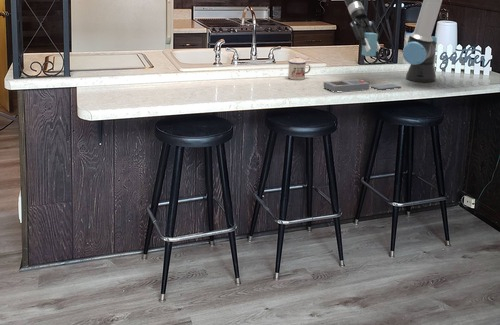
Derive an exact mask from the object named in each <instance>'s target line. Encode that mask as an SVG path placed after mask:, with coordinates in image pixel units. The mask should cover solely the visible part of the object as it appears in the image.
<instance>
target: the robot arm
mask: <svg viewBox="0 0 500 325" xmlns="http://www.w3.org/2000/svg"><path fill="white" fill-rule="evenodd" d="M343 1H344V3H345V5H346V7H347V10H348V13H349V15H350V18H351V19H352V21H351V22H350V24H349V26H350V27H351V29H352V31H353V33H354V34H353V35H354V36H355V39H356V40H357V41H359V42H360V43H361V44H362V45H363V46H364V47H365V49H366V51H367V52H368V51H369V50H370V46H369V44H368V41H367V39H366V38H365V39H364V33H365V31H366V33H376V34H378V37H377V47H376V52H378V51H379V50H380V49H381V46H380V42H379V40H378V39H379V37H380V33H379V31H378V29H377V27H376V25H375V21H374V20H371V21H370V20H369V18H368V14H367V13H366V10H365V6H364V5H363V3H362V0H343ZM442 3H443V0H423V1H422V4H421V8H420V11H419V15H418V18H417V21H416V24H415V27H414V31H413V32H412V33H410V34H409V37H408V40H407V43H406V44H405V45H404V47H403V50H402V57H403V59H404V60H405V62H407V64H409V67H408V71H407V73H406V74H405V79H406V80H408V81H411V82H416V83H417V82H418V83H432V82H436V77H437V76H436V71H435V66H434V64H435V57H436V51H437V50H436V49H437V44H438V43H437V41H438V40H437V37H436V36H433V35H432V34H433V31H434V28H435V25H436V21H437V19H438V15H439V13H440V9H441V6H442ZM364 30H365V31H364Z"/></svg>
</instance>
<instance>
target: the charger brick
mask: <svg viewBox="0 0 500 325" xmlns="http://www.w3.org/2000/svg"><path fill="white" fill-rule="evenodd" d="M377 37H378V34H376V33H368V32H364V39H365V38H366V39H367V41H368V44H369V46H370V50H369V51H368V52H367V51H366V49H365V47H364V46H363V44H362V45H361V56H365V57H368V58H369V57H376V56H377V54H376V53H377V51H376V47H377V40H378V38H379V37H378V38H377Z"/></svg>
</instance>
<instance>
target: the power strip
mask: <svg viewBox="0 0 500 325" xmlns="http://www.w3.org/2000/svg"><path fill="white" fill-rule="evenodd" d="M370 84H371V83H369V82H367V81H365V80H363V79H358V78H357V79H345V80H334V81H323V87H324V88H326V89H325V90H327V89H329V90H331V91H334V92H337V91H347V92H351V91H350V90H358V91H363V90H362V89H369V90H370ZM323 87H322V88H323ZM324 88H323V89H324ZM329 90H328V91H329ZM331 91H330V92H331ZM334 92H333V93H334ZM337 93H338V92H337Z"/></svg>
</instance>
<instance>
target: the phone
mask: <svg viewBox="0 0 500 325" xmlns="http://www.w3.org/2000/svg"><path fill="white" fill-rule="evenodd" d="M370 87H371V88H370ZM369 88H370V89H372V88H374V89H373V90H375V89H377V90H376V91H378V90H382V91H387V90H386V89H390V90H395V89H394V88H398V89H402V86H400V85H396V84H393V83H389V84H380V85H371V86H370V85H369Z"/></svg>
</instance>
